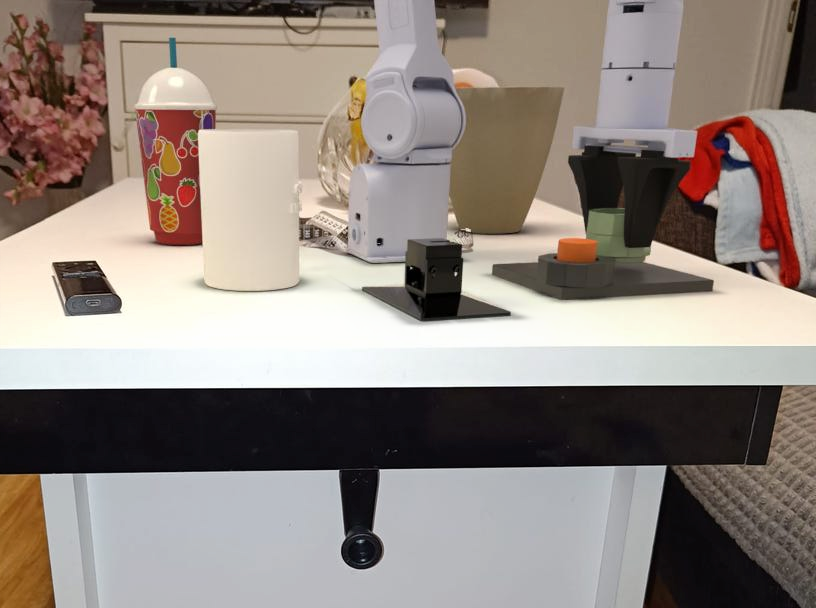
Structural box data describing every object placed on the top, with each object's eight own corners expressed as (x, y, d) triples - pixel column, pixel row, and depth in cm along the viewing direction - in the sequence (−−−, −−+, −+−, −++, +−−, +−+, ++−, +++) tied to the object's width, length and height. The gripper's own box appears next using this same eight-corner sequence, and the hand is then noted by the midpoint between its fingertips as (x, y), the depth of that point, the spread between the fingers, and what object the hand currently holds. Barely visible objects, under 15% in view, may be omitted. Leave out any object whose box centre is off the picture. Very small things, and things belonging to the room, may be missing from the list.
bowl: (606, 265, 77) (612, 215, 76) (572, 255, 82) (576, 208, 81) (661, 262, 79) (668, 213, 77) (625, 253, 84) (630, 207, 82)
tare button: (568, 266, 72) (571, 243, 71) (549, 260, 75) (551, 238, 74) (602, 265, 73) (605, 242, 72) (582, 259, 76) (584, 237, 75)
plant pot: (479, 220, 122) (487, 88, 116) (576, 231, 112) (590, 87, 106) (400, 229, 112) (405, 86, 106) (498, 242, 102) (509, 85, 96)
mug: (283, 265, 86) (281, 127, 82) (311, 289, 76) (311, 131, 71) (194, 268, 84) (187, 127, 80) (210, 292, 74) (203, 131, 69)
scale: (559, 302, 71) (562, 265, 70) (486, 275, 82) (488, 243, 81) (716, 293, 75) (722, 258, 74) (627, 268, 86) (631, 238, 85)
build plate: (512, 318, 66) (517, 252, 65) (417, 325, 64) (420, 257, 62) (440, 286, 77) (443, 228, 75) (357, 290, 75) (358, 231, 73)
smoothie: (237, 240, 102) (231, 39, 94) (186, 249, 95) (175, 33, 88) (179, 234, 106) (169, 41, 98) (127, 243, 99) (111, 36, 92)
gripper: (740, 68, 70) (711, 252, 75) (628, 73, 82) (610, 230, 88) (660, 66, 68) (636, 256, 73) (558, 71, 80) (543, 232, 86)
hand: (617, 242), depth 80 cm, fingers closed on bowl, 5 cm apart
